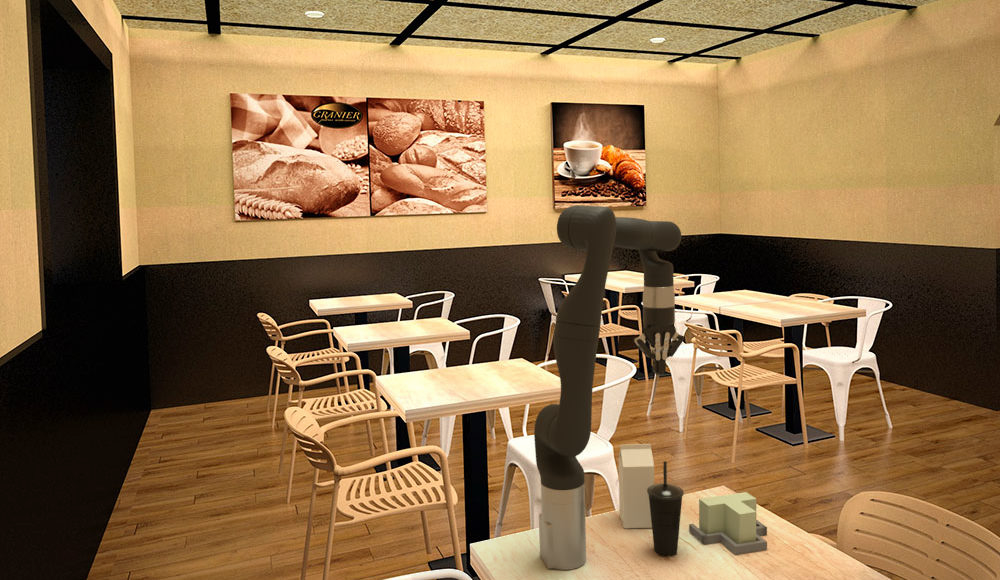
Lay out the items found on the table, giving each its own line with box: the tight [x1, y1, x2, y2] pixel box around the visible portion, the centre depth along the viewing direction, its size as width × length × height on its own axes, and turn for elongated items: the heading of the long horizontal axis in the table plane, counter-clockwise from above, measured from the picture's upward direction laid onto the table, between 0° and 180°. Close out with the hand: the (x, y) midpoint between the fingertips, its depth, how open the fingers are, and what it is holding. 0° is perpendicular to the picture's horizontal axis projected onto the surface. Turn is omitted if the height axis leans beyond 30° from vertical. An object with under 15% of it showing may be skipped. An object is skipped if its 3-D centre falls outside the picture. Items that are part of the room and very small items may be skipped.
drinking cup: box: [647, 460, 684, 558], centre depth 153 cm, size 8×8×20 cm
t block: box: [698, 491, 757, 544], centre depth 158 cm, size 12×10×8 cm
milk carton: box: [618, 443, 655, 529], centre depth 167 cm, size 7×7×19 cm
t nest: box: [688, 519, 768, 556], centre depth 158 cm, size 16×13×2 cm
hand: (659, 374), depth 174 cm, fingers closed
